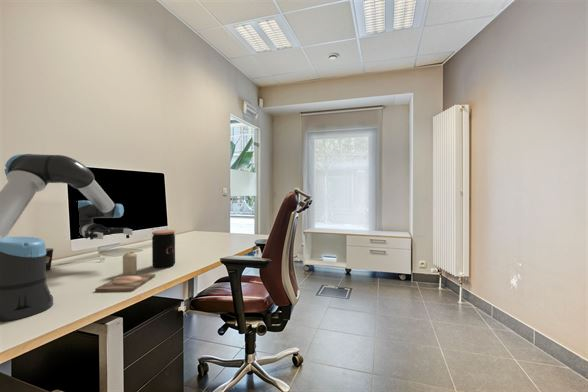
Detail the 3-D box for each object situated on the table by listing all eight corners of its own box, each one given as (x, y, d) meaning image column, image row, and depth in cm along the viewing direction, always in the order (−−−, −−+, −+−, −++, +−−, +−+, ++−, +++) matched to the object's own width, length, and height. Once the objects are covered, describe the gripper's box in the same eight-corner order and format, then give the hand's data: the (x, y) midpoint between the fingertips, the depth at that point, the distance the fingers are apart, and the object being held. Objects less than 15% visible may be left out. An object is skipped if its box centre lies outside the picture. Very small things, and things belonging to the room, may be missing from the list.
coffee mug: (53, 267, 136) (52, 247, 136) (54, 270, 130) (53, 250, 130) (20, 271, 128) (20, 251, 128) (19, 275, 122) (19, 253, 122)
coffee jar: (169, 268, 133) (169, 232, 133) (148, 268, 133) (147, 232, 133) (178, 263, 143) (178, 229, 143) (159, 263, 144) (158, 229, 143)
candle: (130, 275, 122) (130, 254, 121) (119, 275, 123) (119, 253, 123) (139, 272, 127) (139, 251, 127) (129, 271, 128) (129, 250, 128)
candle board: (132, 291, 102) (132, 287, 102) (95, 291, 102) (95, 287, 102) (155, 276, 120) (155, 273, 120) (123, 277, 120) (123, 273, 120)
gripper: (119, 234, 150) (142, 237, 140) (65, 242, 128) (88, 246, 118) (119, 221, 150) (142, 223, 140) (64, 226, 128) (88, 229, 118)
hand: (117, 234), depth 129 cm, fingers open, 13 cm apart
